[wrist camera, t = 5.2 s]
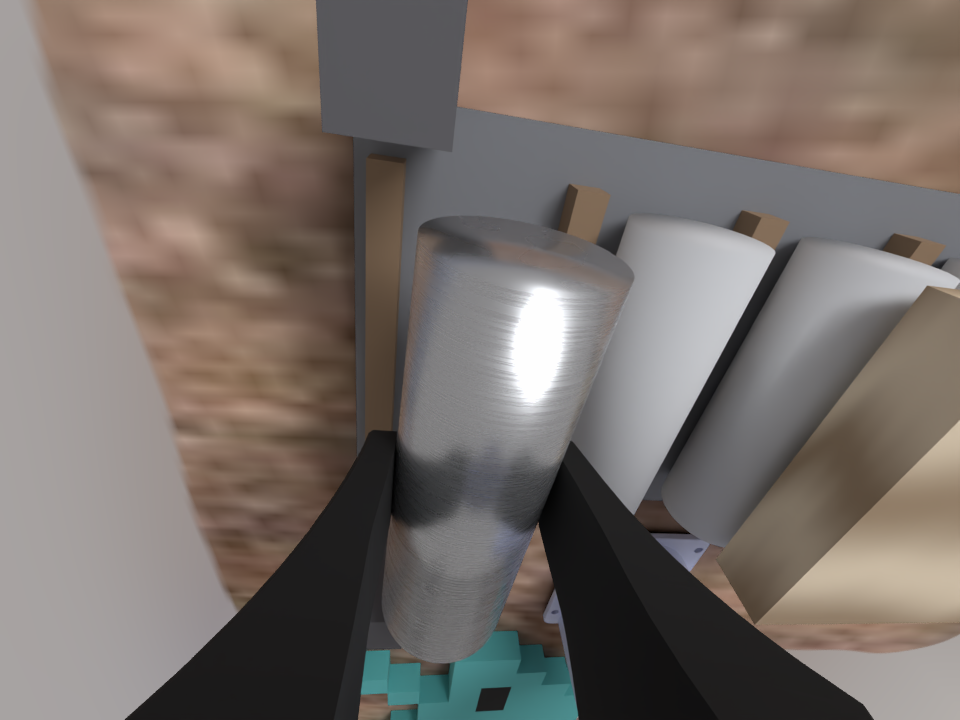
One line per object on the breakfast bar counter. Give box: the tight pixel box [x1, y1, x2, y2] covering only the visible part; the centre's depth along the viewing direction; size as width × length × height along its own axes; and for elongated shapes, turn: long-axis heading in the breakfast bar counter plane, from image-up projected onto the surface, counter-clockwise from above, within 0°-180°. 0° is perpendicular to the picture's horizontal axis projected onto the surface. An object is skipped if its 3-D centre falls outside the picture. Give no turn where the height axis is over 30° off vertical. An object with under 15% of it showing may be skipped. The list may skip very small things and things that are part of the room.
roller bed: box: [316, 0, 960, 649], centre depth 15 cm, size 19×28×6 cm
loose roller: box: [382, 216, 635, 663], centre depth 11 cm, size 12×4×4 cm, turn 170°
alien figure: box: [361, 631, 578, 720], centre depth 34 cm, size 20×2×20 cm
